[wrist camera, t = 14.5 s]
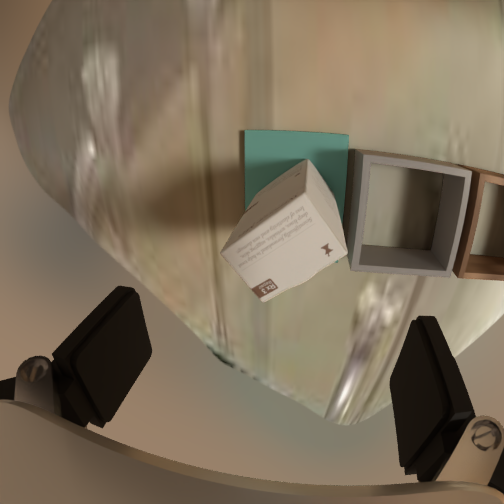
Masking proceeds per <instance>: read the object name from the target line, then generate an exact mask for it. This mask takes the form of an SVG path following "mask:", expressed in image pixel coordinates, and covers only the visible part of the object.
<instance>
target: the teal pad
mask: <svg viewBox="0 0 504 504" xmlns="http://www.w3.org/2000/svg"><path fill="white" fill-rule="evenodd" d="M348 143H349V135H344V134H332V133H319V132H302V131H278V130H245V211H246V209H247V208H248V206H249V204H250V203H251V201H252V200H253V198H254V197H255V195H256V194H257V193H258V192H259V191H261V190H262V189H263V188H264V187H266V186H267V185H268V184H270V183H271V182H272V181H274V180H275V179H276V178H278V177H279V176H280V175H282V174H283V173H285V172H286V171H288V170H289V169H291V168H292V167H294V166H295V165H297V164H299V163H300V162H302V161H304V160H306V159H309V160H310V161H311V162H312V164H313V165H314V166H315V168H316V169H317V170H318V172H319V173H320V175H321V176H322V177H323V179H324V180H325V182H326V183H327V185H328V186H329V187H330V189H331V190H332V192H333V193H334V196H335V200H336V204H337V208H338V211H339V216H340V219H341V224H342V222H343V212H344V201H345V189H346V176H347V161H348ZM335 262H336V263H338V260H337V261H335Z"/></svg>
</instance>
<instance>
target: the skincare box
mask: <svg viewBox="0 0 504 504" xmlns="http://www.w3.org/2000/svg"><path fill="white" fill-rule="evenodd" d="M220 253H221V255H222V256H223V257H224V258H225V260H226V261H227V262H228V263H229V264H230V265H231V266H232V268H233V269H234V270H235V271H236V272H237V273H238V275H239V276H240V277H241V278H242V279H243V280H244V282H245V283H246V284H247V285H248V286H249V287H250V289H251V290H252V291H253V292H254V293H255V294H256V296H257V297H258V298H259V299H260V300H261V301H262V302H266V301H268V300H269V299H271V298H273V297H275V296H277V295H278V294H280V293H282V292H284V291H285V290H287V289H289V288H291V287H294V286H297V285H300V284H302V283H303V282H305V281H307V280H309V279H310V278H311V277H313V276H314V275H315V274H316V273H317V272H319V271H320V270H322V269H324V268H325V267H327V266H329V265H330V264H332V263H334V262H335V261H337V260H338V259H340V258H342V257H344V256H345V255H347V253H348V250H347V247H346V243H345V237H344V232H343V228H342V224H341V219H340V216H339V211H338V208H337V204H336V200H335V196H334V193H333V192H332V190H331V189H330V187H329V186H328V185H327V183H326V182H325V180H324V179H323V177H322V176H321V175H320V173H319V172H318V170H317V169H316V168H315V166H314V165H313V164H312V162H311V161H310V160H309V159H306V160H304V161H302V162H300V163H299V164H297V165H295V166H294V167H292V168H291V169H289V170H288V171H286V172H285V173H283V174H282V175H280V176H279V177H278V178H276V179H275V180H274V181H272V182H271V183H270V184H268V185H267V186H266V187H264V188H263V189H262V190H261V191H259V192H258V193H257V194H256V195H255V197H254V198H253V200H252V201H251V203H250V204H249V206H248V208H247V209H246V211H245V213H244V214H243V216H242V217H241V219H240V221H239V222H238V224H237V225H236V227H235V229H234V230H233V232H232V234H231V236H230V237H229V239H228V241H227V242H226V244H225V246H224V247H223V249H222V251H221V252H220Z"/></svg>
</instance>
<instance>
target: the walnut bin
mask: <svg viewBox="0 0 504 504" xmlns="http://www.w3.org/2000/svg"><path fill="white" fill-rule="evenodd" d="M458 166H460V167H463V168H465V169H468V170H470V171H472V176H471V183H470V190H469V196H468V202H467V208H466V213H465V218H464V223H463V228H462V232H461V237H460V241H459V245H458V250H457V254H456V257H455V261H454V265H453V269H452V271H453V272H454V274H455V275H456V276H457V278H466V279H483V280H500V281H504V258H503V257H493V256H483V255H473V254H470V252H471V248H472V244H473V240H474V235H475V231H476V226H477V222H478V217H479V212H480V207H481V201H482V195H483V189H484V183H485V181H486V182H490V183H495V184H499V185H503V186H504V175H503V174H499V173H495V172H491V171H487V170H482V169H478V168H474V167H469V166H464V165H459V164H458Z"/></svg>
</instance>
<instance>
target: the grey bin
mask: <svg viewBox="0 0 504 504" xmlns="http://www.w3.org/2000/svg"><path fill="white" fill-rule="evenodd" d="M371 163H375V164H384V165H392V166H400V167H407V168H414V169H420V170H427V171H433V172H439V173H444V177H443V185H442V192H441V199H440V205H439V211H438V217H437V222H436V227H435V232H434V237H433V242H432V247H431V251H430V250H419V249H407V248H396V247H384V246H372V245H362V239H363V232H364V225H365V217H366V208H367V199H368V189H369V179H370V167H371ZM471 176H472V171H470V170H468V169H465V168H463V167H460V166H458V165H455V164H452V163H449V162H444V161H438V160H433V159H427V158H421V157H415V156H408V155H401V154H394V153H387V152H379V151H370V150H361V149H355V160H354V174H353V187H352V198H351V208H350V218H349V227H348V236H347V244H346V247H347V250H348V253H347V256H348V261H349V265H350V270H351V271H361V272H375V273H389V274H404V275H419V276H434V277H450V276H451V272H452V269H453V265H454V261H455V257H456V254H457V250H458V245H459V241H460V237H461V232H462V228H463V223H464V218H465V213H466V208H467V202H468V196H469V190H470V183H471Z"/></svg>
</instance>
